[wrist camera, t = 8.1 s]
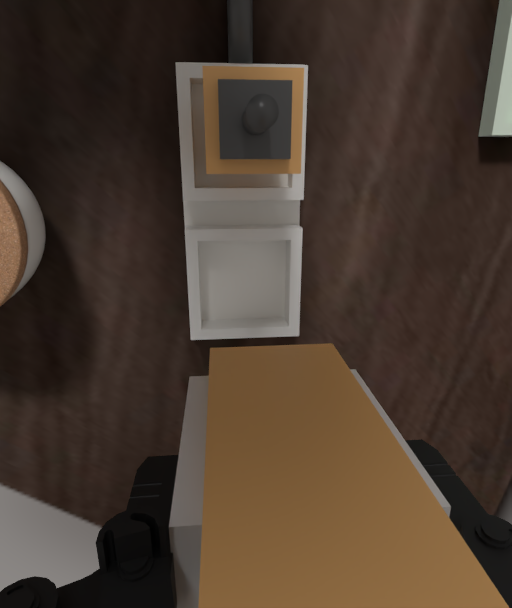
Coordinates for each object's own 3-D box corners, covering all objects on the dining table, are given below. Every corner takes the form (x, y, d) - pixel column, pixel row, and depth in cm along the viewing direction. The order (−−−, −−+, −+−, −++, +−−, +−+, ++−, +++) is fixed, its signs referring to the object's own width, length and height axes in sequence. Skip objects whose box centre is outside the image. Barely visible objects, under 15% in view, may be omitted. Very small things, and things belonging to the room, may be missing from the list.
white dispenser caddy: (293, 327, 34) (347, 437, 20) (191, 330, 33) (173, 447, 19) (304, -38, 26) (403, -271, 12) (171, -44, 26) (116, -298, 12)
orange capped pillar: (214, 453, 16) (207, 930, 6) (210, 348, 15) (192, 733, 5) (326, 446, 17) (499, 884, 6) (332, 343, 15) (565, 691, 5)
